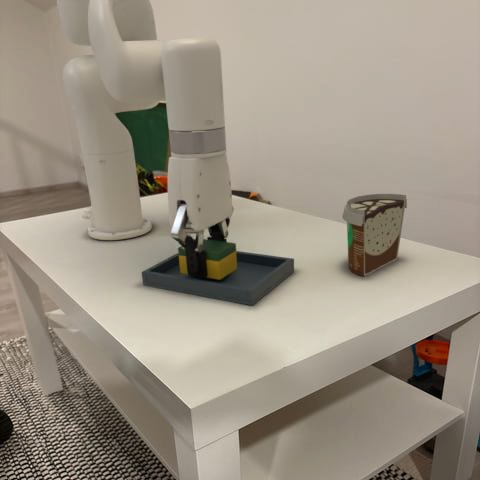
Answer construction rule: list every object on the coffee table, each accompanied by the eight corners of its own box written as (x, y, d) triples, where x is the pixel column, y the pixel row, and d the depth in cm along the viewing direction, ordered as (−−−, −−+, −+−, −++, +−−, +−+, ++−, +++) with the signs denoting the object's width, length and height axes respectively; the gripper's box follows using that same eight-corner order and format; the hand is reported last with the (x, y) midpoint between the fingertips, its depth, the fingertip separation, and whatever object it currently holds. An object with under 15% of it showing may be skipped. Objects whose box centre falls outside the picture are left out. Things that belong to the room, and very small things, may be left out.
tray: (143, 285, 76) (141, 272, 75) (193, 256, 87) (192, 244, 86) (252, 305, 68) (251, 291, 67) (294, 271, 78) (294, 258, 77)
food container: (368, 249, 86) (372, 189, 81) (402, 257, 82) (408, 194, 77) (324, 270, 78) (325, 205, 74) (358, 279, 74) (362, 211, 70)
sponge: (180, 273, 76) (177, 247, 75) (198, 262, 80) (196, 237, 78) (219, 280, 73) (218, 253, 71) (237, 268, 77) (235, 243, 75)
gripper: (209, 134, 77) (217, 249, 85) (135, 151, 64) (153, 285, 72) (252, 134, 73) (256, 254, 81) (184, 153, 60) (197, 294, 68)
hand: (208, 268), depth 77 cm, fingers closed on sponge, 5 cm apart
